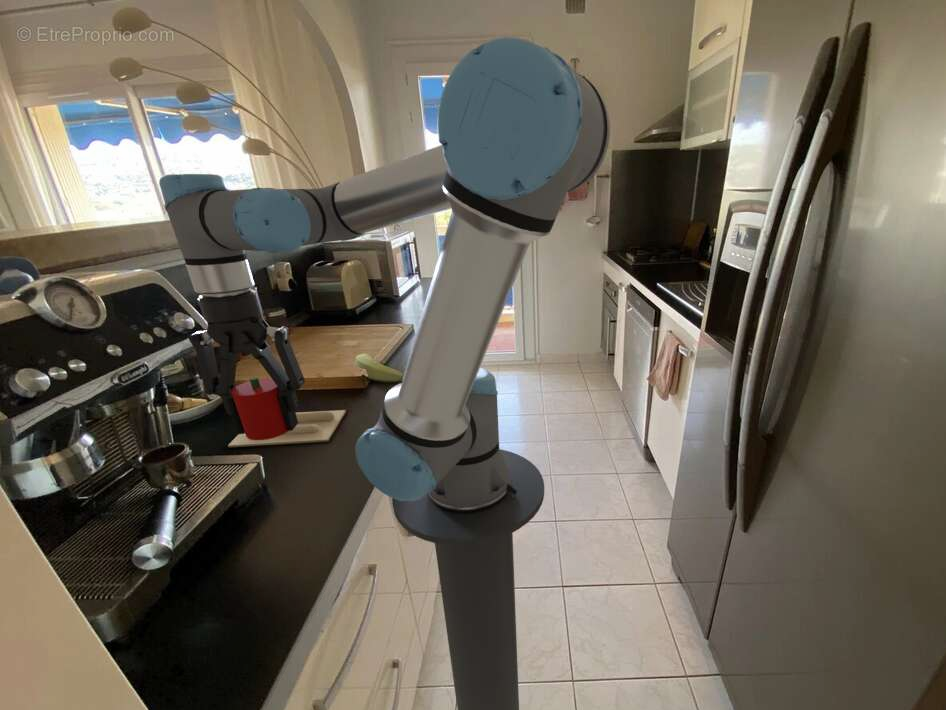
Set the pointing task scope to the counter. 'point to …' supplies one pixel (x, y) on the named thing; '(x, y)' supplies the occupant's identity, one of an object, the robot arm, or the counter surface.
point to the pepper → (259, 409)
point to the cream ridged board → (300, 430)
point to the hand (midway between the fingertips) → (269, 428)
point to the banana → (377, 370)
